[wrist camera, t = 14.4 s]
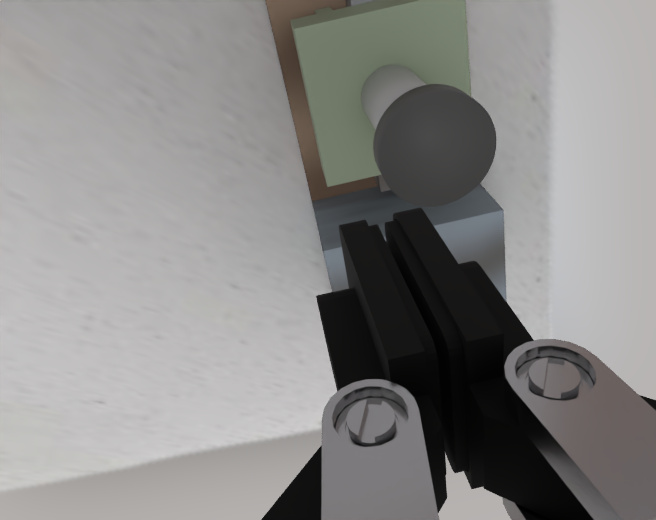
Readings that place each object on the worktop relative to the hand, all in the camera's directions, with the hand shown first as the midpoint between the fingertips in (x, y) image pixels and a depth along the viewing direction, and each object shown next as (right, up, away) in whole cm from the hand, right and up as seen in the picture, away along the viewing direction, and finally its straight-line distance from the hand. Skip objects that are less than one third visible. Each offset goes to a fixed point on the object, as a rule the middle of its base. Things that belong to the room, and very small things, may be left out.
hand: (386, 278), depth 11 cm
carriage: (+1, +11, +20) cm, 23 cm away
